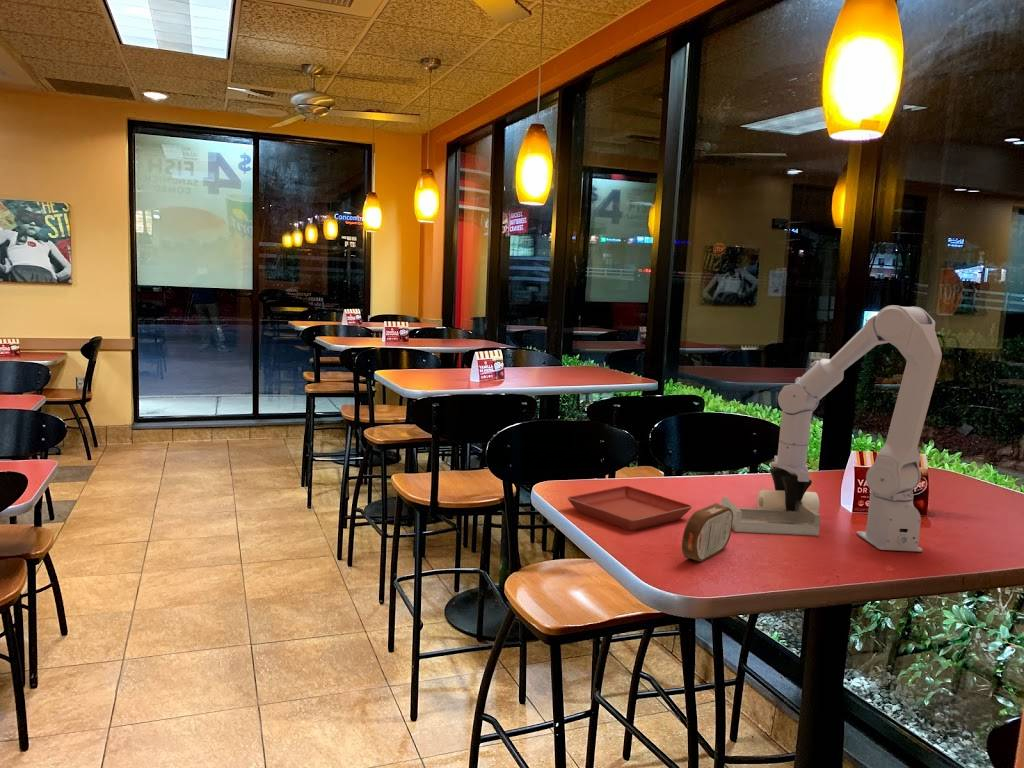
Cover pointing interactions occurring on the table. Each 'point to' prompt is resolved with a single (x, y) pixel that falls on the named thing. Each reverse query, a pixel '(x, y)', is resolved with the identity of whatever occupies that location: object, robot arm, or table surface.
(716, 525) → the tin
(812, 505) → the roll
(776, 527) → the cradle
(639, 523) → the plant saucer
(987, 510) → the table surface
